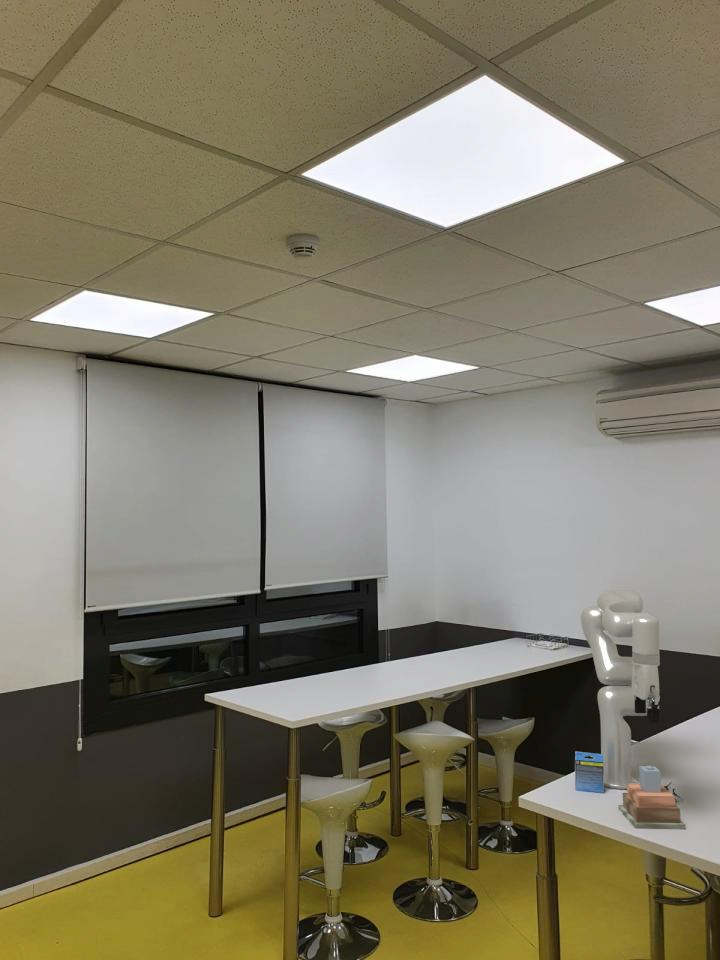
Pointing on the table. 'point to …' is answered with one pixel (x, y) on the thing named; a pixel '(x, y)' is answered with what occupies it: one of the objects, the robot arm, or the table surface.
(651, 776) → the slate brick
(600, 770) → the label tape box
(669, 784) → the creature
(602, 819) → the table surface
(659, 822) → the stepped plate stack
